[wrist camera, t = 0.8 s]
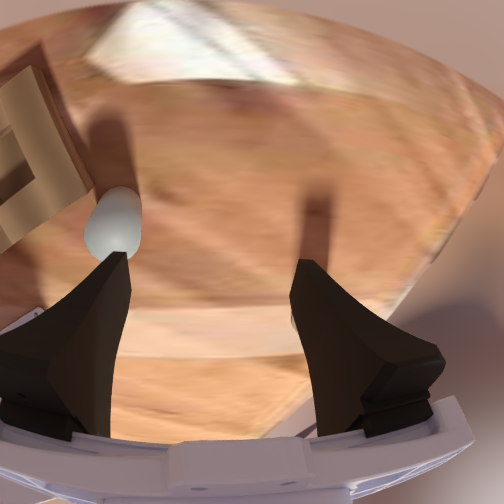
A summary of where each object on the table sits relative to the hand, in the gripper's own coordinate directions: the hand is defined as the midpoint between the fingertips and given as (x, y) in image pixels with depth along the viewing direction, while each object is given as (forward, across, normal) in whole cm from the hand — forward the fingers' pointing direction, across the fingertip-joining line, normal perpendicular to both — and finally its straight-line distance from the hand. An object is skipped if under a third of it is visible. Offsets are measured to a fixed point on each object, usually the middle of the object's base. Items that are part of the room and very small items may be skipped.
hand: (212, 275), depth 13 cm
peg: (+14, +8, +4) cm, 17 cm away
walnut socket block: (+13, +18, -1) cm, 22 cm away
